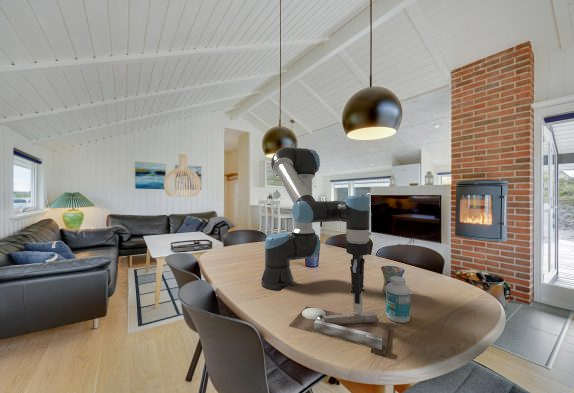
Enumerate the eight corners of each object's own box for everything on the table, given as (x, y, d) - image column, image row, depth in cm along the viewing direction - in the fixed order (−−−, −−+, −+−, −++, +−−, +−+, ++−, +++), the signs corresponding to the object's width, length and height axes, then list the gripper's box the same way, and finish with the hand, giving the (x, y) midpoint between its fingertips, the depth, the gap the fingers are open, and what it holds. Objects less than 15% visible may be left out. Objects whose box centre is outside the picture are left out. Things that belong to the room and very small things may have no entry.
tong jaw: (317, 327, 74) (317, 318, 74) (315, 322, 76) (315, 314, 76) (377, 322, 76) (377, 313, 76) (373, 318, 79) (373, 309, 79)
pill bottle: (382, 313, 86) (382, 275, 86) (402, 312, 86) (402, 274, 86) (393, 324, 78) (393, 282, 78) (415, 323, 79) (414, 281, 79)
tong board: (288, 329, 75) (288, 318, 75) (306, 309, 88) (306, 299, 88) (385, 356, 62) (385, 342, 62) (389, 328, 76) (389, 316, 76)
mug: (406, 299, 97) (406, 273, 97) (381, 296, 100) (381, 270, 100) (402, 288, 108) (402, 264, 108) (380, 286, 111) (380, 263, 111)
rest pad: (298, 316, 81) (298, 315, 81) (307, 307, 88) (307, 306, 88) (321, 322, 77) (321, 321, 77) (328, 311, 84) (328, 310, 84)
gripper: (366, 246, 74) (366, 323, 74) (372, 239, 86) (372, 306, 86) (341, 244, 77) (342, 318, 77) (350, 237, 89) (350, 302, 89)
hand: (357, 311), depth 82 cm, fingers closed
